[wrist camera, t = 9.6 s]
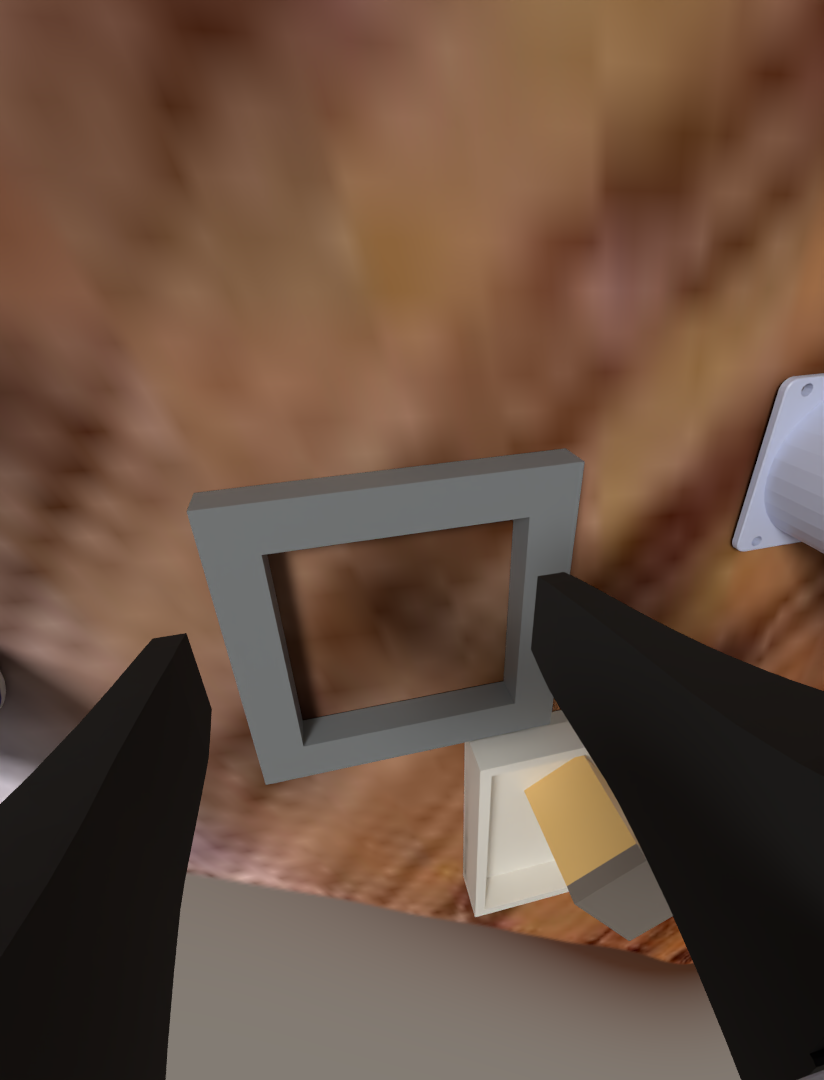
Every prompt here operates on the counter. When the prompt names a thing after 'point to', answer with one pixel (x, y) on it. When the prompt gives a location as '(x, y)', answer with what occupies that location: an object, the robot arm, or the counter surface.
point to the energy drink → (2, 690)
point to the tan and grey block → (597, 849)
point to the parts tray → (511, 815)
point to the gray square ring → (364, 514)
